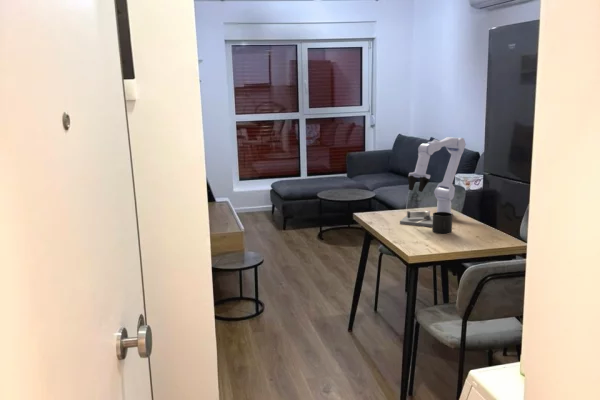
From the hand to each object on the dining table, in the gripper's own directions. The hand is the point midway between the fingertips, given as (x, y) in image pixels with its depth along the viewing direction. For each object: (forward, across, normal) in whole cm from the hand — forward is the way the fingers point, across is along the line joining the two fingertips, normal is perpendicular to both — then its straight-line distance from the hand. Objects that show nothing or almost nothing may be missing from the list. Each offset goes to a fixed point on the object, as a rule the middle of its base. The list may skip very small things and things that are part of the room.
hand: (415, 190), depth 285 cm
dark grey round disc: (+12, 0, +13) cm, 18 cm away
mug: (+18, +20, +6) cm, 27 cm away
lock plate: (+14, 0, +12) cm, 19 cm away
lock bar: (+13, -2, +9) cm, 16 cm away
